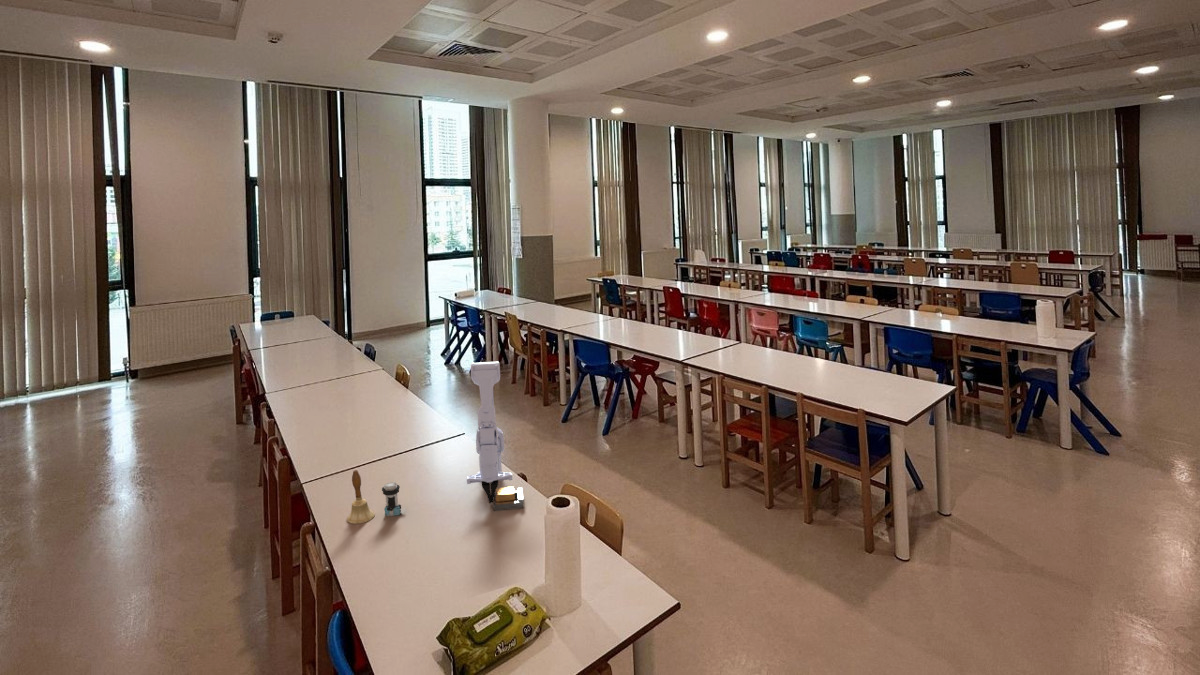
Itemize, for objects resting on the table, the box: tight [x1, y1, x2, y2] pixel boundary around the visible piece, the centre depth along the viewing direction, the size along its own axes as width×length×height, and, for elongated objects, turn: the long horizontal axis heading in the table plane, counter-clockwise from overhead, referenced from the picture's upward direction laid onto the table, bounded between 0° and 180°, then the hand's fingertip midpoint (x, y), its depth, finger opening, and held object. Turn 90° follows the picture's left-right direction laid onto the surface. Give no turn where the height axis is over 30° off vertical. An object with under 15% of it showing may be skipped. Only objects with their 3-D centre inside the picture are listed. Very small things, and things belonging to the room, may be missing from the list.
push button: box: [381, 482, 406, 517], centre depth 193 cm, size 7×5×10 cm
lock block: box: [495, 486, 516, 503], centre depth 199 cm, size 6×5×4 cm
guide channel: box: [493, 487, 524, 511], centre depth 199 cm, size 10×9×3 cm
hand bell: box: [346, 469, 375, 525], centre depth 190 cm, size 8×8×16 cm
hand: (491, 501), depth 199 cm, fingers closed
